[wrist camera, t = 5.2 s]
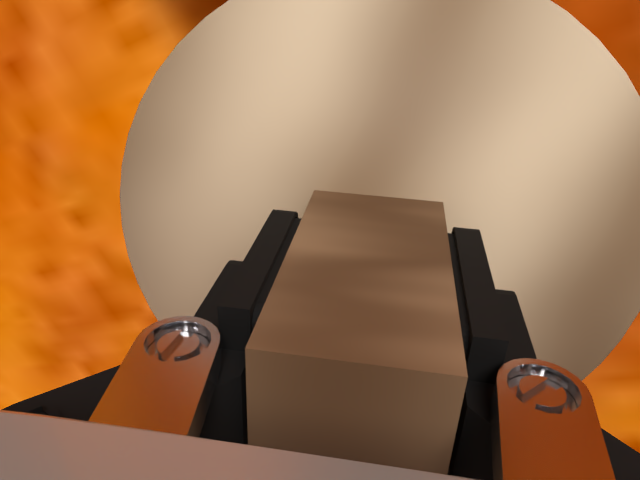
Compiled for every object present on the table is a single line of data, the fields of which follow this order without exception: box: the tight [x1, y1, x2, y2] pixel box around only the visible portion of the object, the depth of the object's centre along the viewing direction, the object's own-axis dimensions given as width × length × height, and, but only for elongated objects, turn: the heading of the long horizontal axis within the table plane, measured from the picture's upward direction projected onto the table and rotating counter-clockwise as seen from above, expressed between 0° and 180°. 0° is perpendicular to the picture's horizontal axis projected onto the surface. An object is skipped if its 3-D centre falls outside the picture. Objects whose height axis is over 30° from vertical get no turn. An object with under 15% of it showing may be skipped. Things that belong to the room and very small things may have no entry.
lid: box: [120, 0, 640, 475], centre depth 11 cm, size 13×13×7 cm
